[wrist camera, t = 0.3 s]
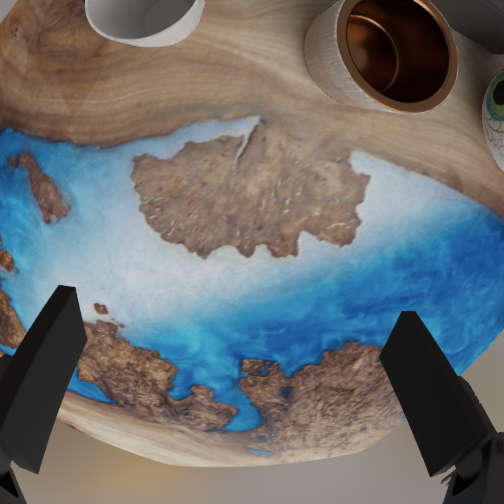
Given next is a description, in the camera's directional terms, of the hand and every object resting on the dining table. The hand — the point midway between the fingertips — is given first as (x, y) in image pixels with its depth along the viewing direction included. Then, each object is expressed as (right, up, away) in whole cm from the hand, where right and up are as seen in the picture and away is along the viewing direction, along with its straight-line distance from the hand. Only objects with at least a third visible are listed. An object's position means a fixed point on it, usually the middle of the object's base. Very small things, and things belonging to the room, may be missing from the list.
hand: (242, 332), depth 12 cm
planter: (+10, +22, +13) cm, 28 cm away
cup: (-7, +24, +11) cm, 28 cm away
